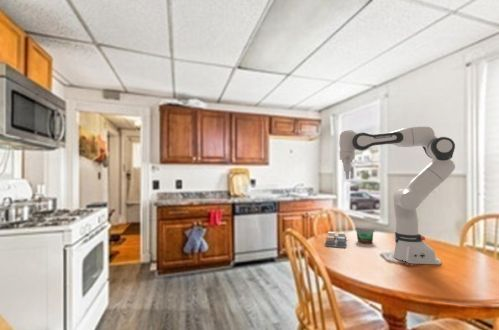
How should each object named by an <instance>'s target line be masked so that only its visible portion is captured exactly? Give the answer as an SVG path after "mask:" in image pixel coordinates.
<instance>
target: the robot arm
mask: <svg viewBox="0 0 499 330" xmlns="http://www.w3.org/2000/svg"><path fill="white" fill-rule="evenodd" d="M383 145H394V146H396V147H398V148H399V147H401V148H412V147H422V149H423V151H424V152H425V155H426V156H427V157H429V158H430V159H432V160H431V161H430V163H429V164H428V165H426V167H425V168H423V169H422V170H421V171H420V172H419V173H418V174H416V175H415V176H414V177H413V179H412V180H411V181H410V182H409V183H408V184H407V185H406V186H405V187H404V188H400V189H397V190H396V191H395V192H394V195H393V206H394V207H393V208H394V217H395V218H394V219H395V232H394V242H395V244H394V245H395V246H394V252H393V254H392V255H393V256H392V257H393V258H395V259H397V260H399V261H402V260H403V262H405V261H406V263H407V264H416V265H417V264H418V265H419V264H420V265H437V266H438V265H441V264H442V261H441V259H440V258H438V257H437V255H436V253H435V250H434V249H433V248H432V247H431V246H430V245H428V244H427V243H426V242H424V241H425V240H426V237H425V236H424V235H421V234H420V233H419V217H418V213H417V212H418V211H417V208H419V206H420V205H421V204H422V203H423V202H424V201H425V200H426V199H427V198H428V197H429V195H430V194H431V193H433V191H434V190H436V188H438V187H439V186H440V185H441V184H443V182H445V181H446V180H447V179H448V178H449V177H450V176H451V174H452V173H453V172H454V170H455V169H456V164H455V162H454V161H453V160H452V158H453V156H454V152H455V148H456V144H455V142H454V140H453V139H452V138H450V137H447V136H440V137H437V136H436V134H435V131H434V130H433V128H432V127H431V126H413V127H405V128H400V129H396V130H394V131H390V132H383V133H375V134H373V133H372V134H371V133H366V132H356V131H354V130H352V129H350V130H349V129H348V130H344V131H342V132H341V133H340V134H339V160H340V161H341V163H342V165H343V172H345V180H350V172H351V171H352V163H353V161H354V160H355V159H356V156H355V153H356V152H355V151H361V152H365V151H367V150H369V149H370V148H371V147H373V146H383Z"/></svg>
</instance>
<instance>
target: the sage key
mask: <svg viewBox="0 0 499 330" xmlns="http://www.w3.org/2000/svg"><path fill="white" fill-rule="evenodd" d="M337 236H338V237H345V236H346V233H345V232H341V231H339V232H338V235H337Z"/></svg>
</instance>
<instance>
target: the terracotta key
mask: <svg viewBox="0 0 499 330" xmlns="http://www.w3.org/2000/svg"><path fill="white" fill-rule="evenodd" d="M326 240H327V241H330V242H334V236H326Z"/></svg>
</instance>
